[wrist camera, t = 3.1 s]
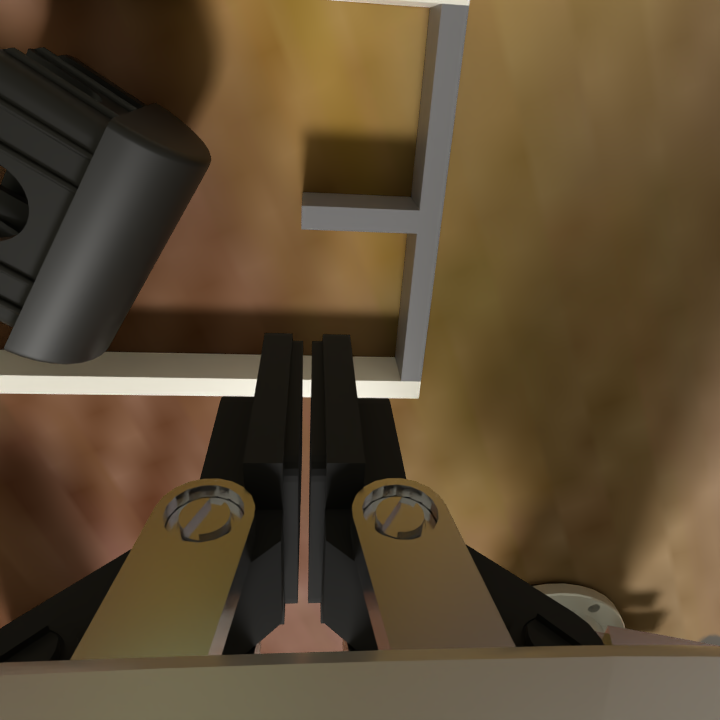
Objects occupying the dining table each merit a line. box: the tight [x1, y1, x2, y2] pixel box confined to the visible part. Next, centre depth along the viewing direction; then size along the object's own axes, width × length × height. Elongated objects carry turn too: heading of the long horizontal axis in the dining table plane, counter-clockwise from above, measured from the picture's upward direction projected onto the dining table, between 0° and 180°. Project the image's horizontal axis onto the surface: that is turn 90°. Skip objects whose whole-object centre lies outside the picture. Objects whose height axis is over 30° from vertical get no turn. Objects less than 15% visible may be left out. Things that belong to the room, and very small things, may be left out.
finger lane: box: [0, 0, 470, 398], centre depth 23 cm, size 28×18×6 cm, turn 87°
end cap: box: [0, 47, 211, 364], centre depth 23 cm, size 10×7×7 cm
